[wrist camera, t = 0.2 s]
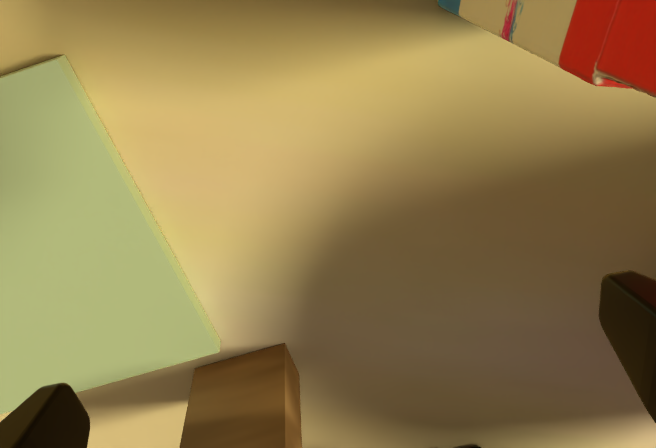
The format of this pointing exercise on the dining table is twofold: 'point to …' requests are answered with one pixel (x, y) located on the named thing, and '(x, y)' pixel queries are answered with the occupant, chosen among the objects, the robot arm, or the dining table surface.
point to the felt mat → (80, 251)
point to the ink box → (577, 35)
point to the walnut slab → (245, 403)
